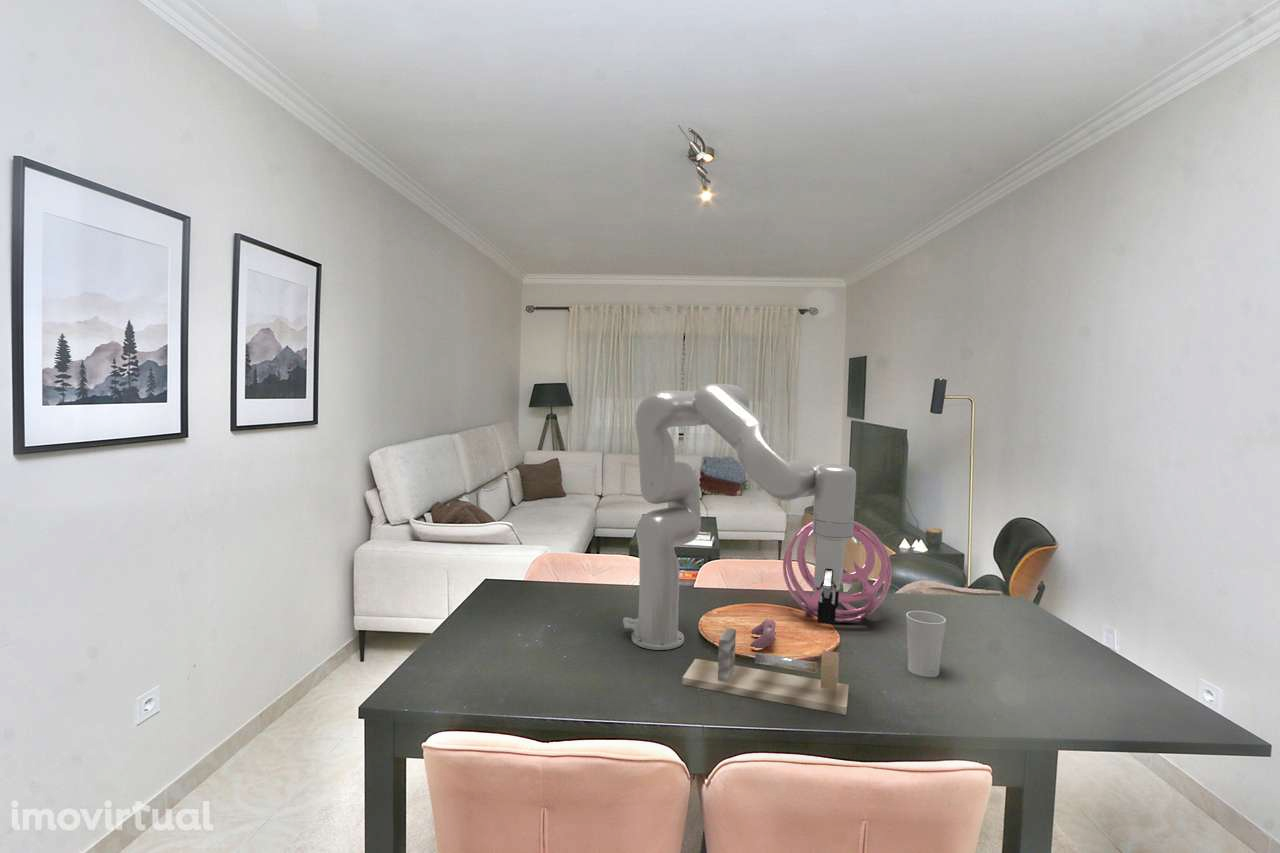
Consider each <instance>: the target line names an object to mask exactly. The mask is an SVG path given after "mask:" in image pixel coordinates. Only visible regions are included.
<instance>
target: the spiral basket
mask: <svg viewBox="0 0 1280 853" xmlns="http://www.w3.org/2000/svg"><path fill="white" fill-rule="evenodd" d="M812 532H813V520H811V521H809V522H808V523H806V524H805V525H803V526H802V527H801V528H799V529H798V530H797V532H796V533H795V534H794V536H792V538H791V540H790V541H789V543H788V545H787V547H786V549H785V551H784V555H783V558H782V559H783V560H782V573H783V578H784V582H785V584H786V587H787V590H788V591H789V593H790V595H791V597H792V598H793V599H794V601H795V602H796V603H797V604H798V605H799V606H800V607H801V608H802V609H803V610H804V611H805V612H806V613H807V614H808V615H811V616H814V617H816V618H817V617H818V601H819V600H820V589H821V588H820V587H821V586H820V587H819V588H818V587H817V589H815V588H814V587H813V584H814V575H812V573H811V571H810V570H809V566H808V565H807V561H806V555H805V554H806V546H807V544H808V543H807V542H808V541H809V539H810V537H811V535H813V534H812ZM853 537H854V538H856V539H857V540H858V541H859V542H860V543H861V544H862V545H863V547H864V550H865V554H866V559H865V562H864V564H863V566H862V567H860V566H859V565H858V564H857V563H856V561H854V560H852V564H853V567H854V570H855V571H854V572H848V573H847V572H843V576H842V581H841V584H856V583H861V585H862V590H861V591H859V592H856V593H855V592H854V593H841V592H839V596H838V603H840V604H841V605H842V606H843V607H844V608H845V609H837V608H836V615H835V623H837V624H838V623H839V624H843V623H845V624H847V623H852V622H857V621H860V620H863V619H864V618H867V617H869V616H870V615H871V614H873V613H874V612H875V611H876V610H877V609H879V607H880V606H881V604H882V603H883V601H884V600H885V597H886V596H887V593H888V591H889V588H890V587H891V582H892V577H893V576H892V571H893V570H892V562H891V559H890V556H889V553H888V551H887V549H886V547H885V545H884V544H883V542H882V540H880V538H879V537H878V536H877V535H876V534H875V533H874V532H873V531H872V530H871V529H870V528H867V527H866V526H865V525H863V524H862V523H859V522H858V521H855V520H854V523H853ZM799 538H800V539H799ZM798 539H799V542H798V545H797V548H796V550H797V551H796V559H797V560H796V561H797V566H798V569H799V571H800V573H801V576H802V578H803V579H804V580H805V581H804V582H806V583H807V585H808V586H809V587H810V588H811V590H812V591H813V594H812V595H809V594H808V593H807V592H806V591H805V589H803V587H802V585H800V583H799V581H798V580H797V577H796V576H795V573H794V569H793V564H792V563H793V562H792V556H793V549H794V546H795V543H796V542H797V540H798ZM816 546H817V540H816V541H815V545H814V549H813V555H814V558H815V557H816ZM875 553H876V555H877V557H878V559H879V561H880V564H881V565H880V570H879V574H878V577H877V578H876V580H875V581H874V583H873V584H870V582H869V580H868V578H869V575H870V574H871V573H872V571H873V570H874V567H875V562H876V555H875ZM823 586H824V583H823ZM882 586H883V587H882ZM881 587H882V588H883V589H882V591H881V593H880V594H879V596H877V597H876V593H877V592H879V590H880V588H881ZM793 588H794V589H793ZM794 590H795V591H796V592H797V594H798V595H799V596H800V597H801V598H802V599H803V601H804V602H805V603H804V602H803V601H802V600H801V599H800V598H799V597H798V595H797V594H796V592H795V591H794ZM875 597H876V598H875ZM862 601H865V602H866V604H865V605H864V606H863V607H859V608H856V607H855V606H852V605H851V603H853V604H854V603H858V602H862ZM836 617H842V618H836ZM843 617H845V618H843ZM846 617H847V618H846Z"/></svg>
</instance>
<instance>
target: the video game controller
mask: <svg viewBox="0 0 1280 853" xmlns="http://www.w3.org/2000/svg"><path fill="white" fill-rule="evenodd" d="M751 633H752V634H756V635H761V636H760V637H758V638H755V639H754V640H753V641H752V642H751V643H750V645H749V647H750V646H751V647H755V648H764V649H766V648H765V647H767V646H770V645H772V643H775V642H776V641H777V637H776V634H777V632H776V622H775V621H774V620H772V619H769V618H767V619H764V621H762V622H761V623H760V624H758V625H756V626H755V627H753V629H752V630H751V632H750V634H751ZM767 648H768V647H767Z"/></svg>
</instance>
